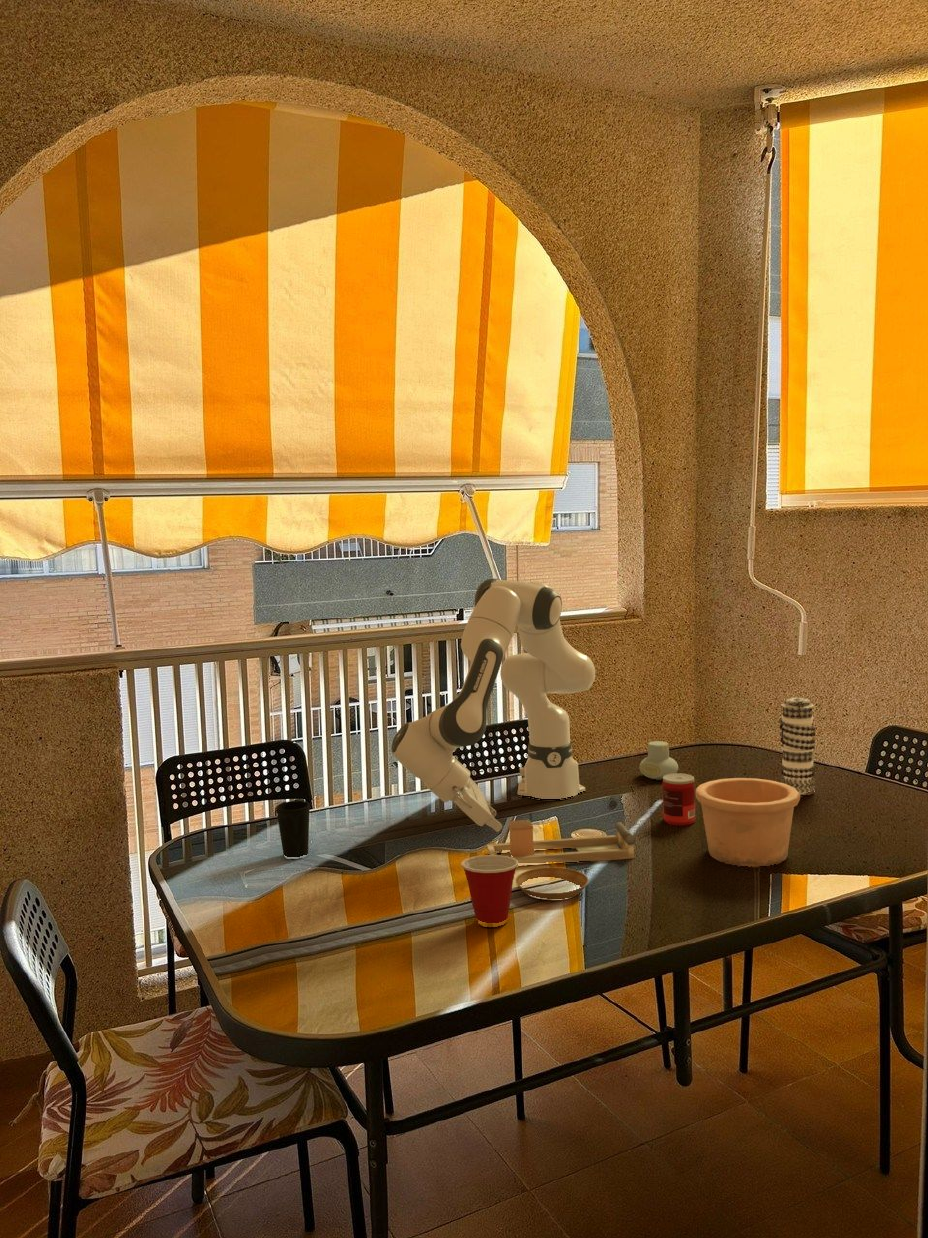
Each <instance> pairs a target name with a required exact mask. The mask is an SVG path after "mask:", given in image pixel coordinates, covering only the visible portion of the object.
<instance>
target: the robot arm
mask: <svg viewBox="0 0 928 1238" xmlns="http://www.w3.org/2000/svg"><path fill="white" fill-rule="evenodd" d="M562 609H563V602H562V597H561V596H560V594H559V593H558V591H556V590H555V589H552V588H551V587H549V585H547V584H546V583H544V582H542V581H535V580H533V581H528V582H527V581H526V582H525V581H516V580H510V579H509V580H508V579H500V578H487V579H485V580H483V582H481V583H480V584H479V585H478V586H477V589H476V591H475V595H474V608H473V610H472V611H471V613H470V616H469V618H468V620H467V623H466V625H465V627H464V630H463V632H462V637H461V641H460V642H461V643H460V648H461V650H462V651H461V652H462V653H463V654H464V656H465V657H466V658H467V659H468V661H470V665H469V669H468V672H467V674H466V677H465V679H464V683H463V685H462V687H461V691H460V692H459V694H458V695H457V697H456V698H454V699H453V700H452V701H451V702H450V703H447V705H444V706H441V707H439V708H437V709H435V710H433V711H432V712H430V713H428V714H427V715H425V716H423V717H422V718H418V719H417V720H414V721H410V722H408V721H407V722H406V723H404V724H403V725H401V727H400V729H399V730H398V731H397V732H396V734H395V736H394V738H393V740H392V743H391V752H392V755H393V756H394V758H395V759H396V760H397V761H398V762H399V764H401V766H403V768H405V769H406V770H407V771H408V773H410V774H411V775H412V776H414V777H415V778H418V779H419V780H421V781H422V782H423V783H424V784H425V786H426V788H427V789H428V790H429V791H430V792H432V793H433V794H434V795H435V797H436V796H437V798H438V799H440V800H441V801H442V802H443V803H448V802H450V801H451V802H452V803H453V804H454V803H455V805H456V806H458V808H459V809H460V810H461V811H462V812H463V813H464V814H465V815H466V816H467V817H468V818H469V819H471V821H473V822H474V823H475V824H476V825H477V826H480V827H483V826H486V825H487V826H488V827H490V828H491V829H493V830H494V831H495V832H497V833H498V832H500V831H501V830H502V829H503V825H502V823H501V822H500V821H499V820H497V818H495V817H496V816H497V810H496V809H494V808H493V807H492V806H491V805H490V803H489V802H487V800H486V798H485V796H484V793H483V790H482V789H481V788H480V787H479V785H478V784H477V783H476V782H475V781H474V780H473V779H472V778H471V771H470V770H469V769H468V768H467V767H466V766H464V765H463V764H462V763H461V762H460V761H459V760H458V759H456V757H454V756H453V753H454V752H455V751H456V749H458V748H462V747H470V746H473V745H475V744H477V743H478V742H480V741H481V739H482V738H483V737H484V735H485V733H486V730H487V726H488V706H489V701H490V699H491V698H490V697H491V695H492V693H493V692H492V691H493V689H494V686H495V683H496V680H497V678H498V673H499V674H500V678H501V682H502V685H503V686H504V687H505V688H506V690H508V691H509V692H511V693H512V694H513V695H514V696H515V697H516V698H517V699H518V700H519V702H520V703H521V704H522V707H523V708H524V711H525V713H526V717H527V724H528V734H529V742H528V745H527V755H528V758H527V760H526V763H525V765H524V766H523V767H519V776H520V777H521V776H522V777H523V776H524V777H523V778H521V779H522V781H520V782H519V781H518V787H517V788H518V789H517V794H519V795H524V796H532V797H535V798H541V799H560V800H562V799H561V798H566V799H568V798H567V797H571V796H573V797H576V796H577V795H578V793H579V794H581V793H580V792H582V793H584V792H583V791H585V792H586V787H585V786H584V785H582V784H580V775H579V763H578V762H577V761H576V760H575V759H574V758H573V745H572V741H571V733H570V732H571V730H570V729H571V725H570V716H569V715H568V712H567V711H566V710H565V709H564V708H562V707H561V706H559V705H557V704H554V703H553V702H551V701H550V699H549V697H548V696H547V694H575V693H581V692H585V691H588V690H589V689H590V688H591V687H592V685H593V684H594V682H595V678H596V667H595V664H594V662H593V661H592V659H591V657H589V656H588V655H586V654H584V653H582V652H580V651H578V650H577V649H575V648H574V647H573V646H572V645H571V644H570V643H569V642H568V641H567V640H566V638H565V637H564V633H563V629H562V625H561V619H560V618H561V614H562ZM516 628H517V629H518V634H519V639H520V640H519V641H520V644H521V646H522V648H523V650H525V652H522V653H518V654H516V653H515V654H512V655H509V656H507V657H505V655H506V653H507V651H508V647H509V646H510V644H511V641H512V639H513V636H514V634H515V631H516ZM504 657H505V659H504ZM503 659H504V660H503ZM499 671H500V672H499ZM571 798H572V797H571Z"/></svg>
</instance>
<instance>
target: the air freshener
mask: <svg viewBox="0 0 928 1238" xmlns="http://www.w3.org/2000/svg"><path fill="white" fill-rule="evenodd" d="M638 769H639V771H640V773H641V774H642V775H643V776H645V777H646V778H648V779H650V778H651V779H650V780H652V779H656V780H655V781H660V780H662V779H663V776H665V775H668V774H674V773H678V771H679V764H678V763H677V760H675V759H674V758H672V757H670V744H669V743H668V742H667V741H660V740H655V741H653V740H652V741H649V742H648V744H647V756H646V757H644V758H643V759H642V760H641V761H640V764H639V767H638ZM662 781H663V780H662Z"/></svg>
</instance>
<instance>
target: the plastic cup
mask: <svg viewBox="0 0 928 1238" xmlns="http://www.w3.org/2000/svg"><path fill="white" fill-rule="evenodd" d="M517 866H518V860H516V859H514V858H512V857H511V856H506V855H501V854H496V855H488V854H484V855H477V856H472V857H467V858H465V859H464V860H462V861H461V867H462V868H463V870H464V875H465V878H466V881H467V885H468V891H469V895H470V900H471V904H472V908H473V912H474V917H475V919H476V918H477V919H478V920H480V921H482V922H486V923H499V922H502V921H504V920H506V919H507V918H509V910H510V906H511V898H512V890H513V883H514V879H515V874H516V869H517V868H518V867H517Z"/></svg>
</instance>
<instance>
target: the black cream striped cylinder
mask: <svg viewBox="0 0 928 1238" xmlns="http://www.w3.org/2000/svg"><path fill="white" fill-rule="evenodd" d="M781 706H782V715H781V718H779V721H778V723H779V727H778V728H779V730H781V732H779V736H780V739H779V741H780V742H781V745H780V746H781V747H780V748H781V750H782V761H781V762H782V763H781V765H780V768H781V769H782V770H781V772H780V774H781V775H782V776H781V777H780V782H781V783H784V784H787V785H789V786H791V787H794V788H795V789H796V790H797V791H798V792H799V793H800V794H804V793H808V792H811V791H812V790H815V788H816V784H815V783H816V780H815V778H814V777H815V772H814V771H815V769H816V768H815V766H814V759H813V751H815V749H816V746H815V745H814V744H815V743H816V740H814V739H813V737H816V733H815V732H814V731H816V728H817V727H815V726H814V725H813V723H814V722H815V719H814V716H813V707H814V704H813V703H811V701H810V700H809V699H808V698H805V697H789V698H786V700H785V701H784V702H783V703H781Z"/></svg>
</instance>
